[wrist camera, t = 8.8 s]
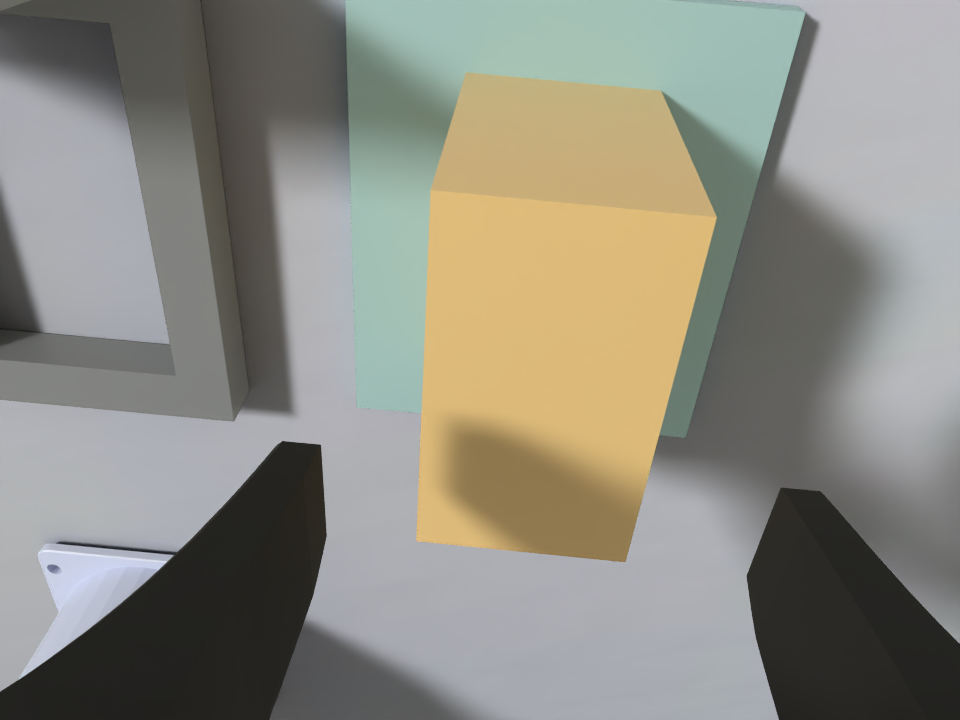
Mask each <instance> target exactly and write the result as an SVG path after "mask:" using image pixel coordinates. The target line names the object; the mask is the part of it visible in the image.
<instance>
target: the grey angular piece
mask: <svg viewBox="0 0 960 720" xmlns="http://www.w3.org/2000/svg"><path fill="white" fill-rule="evenodd" d="M0 14H7V15H19V16H30V17H42V18H53V19H65V20H77V21H88V22H100V23H110V28H111V34H112V39H113V44H114V50H115V55H116V60H117V65H118V71H119V76H120V81H121V87H122V92H123V97H124V103H125V108H126V113H127V118H128V124H129V129H130V134H131V140H132V145H133V150H134V155H135V161H136V166H137V171H138V177H139V182H140V187H141V193H142V198H143V203H144V208H145V214H146V219H147V224H148V230H149V235H150V240H151V245H152V251H153V256H154V261H155V267H156V272H157V277H158V283H159V288H160V293H161V298H162V304H163V309H164V314H165V320H166V325H167V330H168V335H169V341H170V345H166V344H155V343H144V342H133V341H122V340H112V339H101V338H90V337H79V336H68V335H57V334H47V333H36V332H25V331H14V330H3V329H0V400H9V401H19V402H30V403H41V404H51V405H62V406H73V407H83V408H94V409H105V410H115V411H126V412H137V413H148V414H158V415H169V416H180V417H190V418H201V419H212V420H222V421H233V422H234V420H235V418H236V417H237V415H238V413H239V411H240V409H241V407H242V405H243V403H244V401H245V399H246V397H247V395H248V393H249V385H248V377H247V369H246V361H245V353H244V345H243V337H242V329H241V321H240V313H239V305H238V297H237V289H236V281H235V273H234V265H233V257H232V249H231V241H230V233H229V225H228V217H227V209H226V201H225V193H224V185H223V177H222V169H221V161H220V153H219V145H218V137H217V129H216V121H215V113H214V105H213V97H212V89H211V81H210V73H209V65H208V57H207V49H206V41H205V33H204V25H203V17H202V9H201V1H200V0H0Z"/></svg>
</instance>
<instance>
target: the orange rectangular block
mask: <svg viewBox="0 0 960 720" xmlns="http://www.w3.org/2000/svg"><path fill="white" fill-rule="evenodd" d="M716 219H717V216H716V214H715V212H714V210H713V207H712V205H711V203H710V200H709V198H708V196H707V194H706V191H705V189H704V187H703V185H702V182H701V180H700V178H699V175H698V173H697V171H696V169H695V166H694V164H693V162H692V160H691V157H690V155H689V153H688V150H687V148H686V146H685V144H684V141H683V139H682V137H681V135H680V132H679V130H678V128H677V126H676V123H675V121H674V119H673V116H672V114H671V112H670V110H669V107H668V105H667V103H666V101H665V98H664V96H663V94H662V91H661V90H650V89H639V88H629V87H618V86H607V85H597V84H586V83H575V82H565V81H554V80H543V79H533V78H522V77H511V76H501V75H490V74H479V73H469V72H466V74H465V77H464V80H463V84H462V87H461V90H460V94H459V97H458V100H457V104H456V107H455V110H454V114H453V117H452V120H451V124H450V127H449V130H448V134H447V137H446V140H445V144H444V147H443V150H442V154H441V157H440V160H439V164H438V167H437V170H436V174H435V177H434V180H433V184H432V187H431V192H430V217H429V242H428V267H427V292H426V316H425V341H424V366H423V391H422V415H421V440H420V465H419V490H418V514H417V539H416V541H420V542H430V543H440V544H450V545H460V546H470V547H480V548H490V549H500V550H510V551H520V552H530V553H540V554H550V555H560V556H570V557H580V558H589V559H599V560H609V561H619V562H626V558H627V554H628V551H629V547H630V543H631V539H632V536H633V532H634V528H635V524H636V520H637V517H638V513H639V509H640V505H641V502H642V498H643V494H644V490H645V487H646V483H647V479H648V475H649V471H650V468H651V464H652V460H653V456H654V453H655V449H656V445H657V441H658V438H659V434H660V430H661V426H662V423H663V419H664V415H665V411H666V407H667V404H668V400H669V396H670V392H671V389H672V385H673V381H674V377H675V374H676V370H677V366H678V362H679V358H680V355H681V351H682V347H683V343H684V340H685V336H686V332H687V328H688V325H689V321H690V317H691V313H692V309H693V306H694V302H695V298H696V294H697V291H698V287H699V283H700V279H701V276H702V272H703V268H704V264H705V261H706V257H707V253H708V249H709V245H710V242H711V238H712V234H713V230H714V227H715V223H716Z"/></svg>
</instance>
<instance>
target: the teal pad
mask: <svg viewBox="0 0 960 720" xmlns="http://www.w3.org/2000/svg"><path fill="white" fill-rule="evenodd" d="M805 13H806V12H805V11H804V10H802V9H801V8H800V7H798V6H787V5H775V4H763V3H751V2H739V1H728V0H345V14H346V49H347V85H348V120H349V155H350V190H351V225H352V260H353V295H354V331H355V366H356V401H357V407H359V408H370V409H381V410H392V411H402V412H413V413H422V391H423V366H424V341H425V316H426V292H427V267H428V242H429V217H430V192H431V187H432V184H433V180H434V177H435V174H436V170H437V167H438V164H439V160H440V157H441V154H442V150H443V147H444V144H445V140H446V137H447V134H448V130H449V127H450V124H451V120H452V117H453V114H454V110H455V107H456V104H457V100H458V97H459V94H460V90H461V87H462V84H463V80H464V77H465V74H466V72H469V73H479V74H490V75H501V76H511V77H522V78H533V79H543V80H554V81H565V82H575V83H586V84H597V85H607V86H618V87H629V88H639V89H650V90H661V91H662V94H663V96H664V98H665V101H666V103H667V105H668V107H669V110H670V112H671V114H672V116H673V119H674V121H675V123H676V126H677V128H678V130H679V132H680V135H681V137H682V139H683V141H684V144H685V146H686V148H687V150H688V153H689V155H690V157H691V160H692V162H693V164H694V166H695V169H696V171H697V173H698V175H699V178H700V180H701V182H702V185H703V187H704V189H705V191H706V194H707V196H708V198H709V200H710V203H711V205H712V207H713V210H714V212H715V214H716V216H717V219H716V223H715V227H714V230H713V234H712V238H711V242H710V245H709V249H708V253H707V257H706V261H705V264H704V268H703V272H702V276H701V279H700V283H699V287H698V291H697V294H696V298H695V302H694V306H693V309H692V313H691V317H690V321H689V325H688V328H687V332H686V336H685V340H684V343H683V347H682V351H681V355H680V358H679V362H678V366H677V370H676V374H675V377H674V381H673V385H672V389H671V392H670V396H669V400H668V404H667V407H666V411H665V415H664V419H663V423H662V426H661V430H660V434H659V435H660V436H671V437H682V438H686V435H687V432H688V428H689V425H690V421H691V417H692V414H693V410H694V407H695V403H696V400H697V396H698V393H699V389H700V386H701V382H702V378H703V375H704V371H705V368H706V364H707V361H708V357H709V354H710V350H711V347H712V343H713V339H714V336H715V332H716V329H717V325H718V322H719V318H720V315H721V311H722V307H723V304H724V300H725V297H726V293H727V290H728V286H729V283H730V279H731V276H732V272H733V268H734V265H735V261H736V258H737V254H738V251H739V247H740V244H741V240H742V236H743V233H744V229H745V226H746V222H747V219H748V215H749V212H750V208H751V205H752V201H753V197H754V194H755V190H756V187H757V183H758V180H759V176H760V173H761V169H762V166H763V162H764V158H765V155H766V151H767V148H768V144H769V141H770V137H771V134H772V130H773V126H774V123H775V119H776V116H777V112H778V109H779V105H780V102H781V98H782V95H783V91H784V87H785V84H786V80H787V77H788V73H789V70H790V66H791V63H792V59H793V55H794V52H795V48H796V45H797V41H798V38H799V34H800V31H801V27H802V24H803V20H804V16H805Z"/></svg>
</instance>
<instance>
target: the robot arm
mask: <svg viewBox="0 0 960 720" xmlns="http://www.w3.org/2000/svg"><path fill="white" fill-rule="evenodd" d="M326 536H327V535H326V519H325V503H324V487H323V471H322V456H321V445H317V444H307V443H296V442H285V441H282V442H281V443H279V444H278V445H277V446H276V447H275V448H274V449H273V450H272V451H271V453H270V454H269V455H268V456H267V457H266V458H265V460H264V461H263V462H262V463H261V464H260V465H259V467H258V468H257V469H256V470H255V471H254V472H253V474H252V475H251V476H250V477H249V478H248V479H247V480H246V482H245V483H244V484H243V485H242V486H241V487H240V488H239V489H238V490H237V491H236V493H235V494H234V495H233V496H232V497H231V498H230V499H229V500H228V501H227V502H226V504H225V505H224V506H223V507H222V508H221V509H220V510H219V511H218V512H217V513H216V514H215V515H214V516H213V517H212V518H211V519H210V520H209V521H208V522H207V523H206V524H205V525H204V526H203V527H202V528H201V530H200V531H199V532H198V533H197V534H196V535H195V536H194V537H193V538H192V539H191V540H190V541H189V542H188V543H187V544H186V545H184V546H183V547H182V548H181V549H180V550H179V551H178V552H177V553H176V554H175V555H168V554H157V553H147V552H137V551H126V550H116V549H106V548H95V547H85V546H74V545H64V544H54V543H53V544H46V545H44V546H43V548H42V549H41V551H40V552H39V554H38V559H39V561H40V564H41V567H42V569H43V572H44V575H45V577H46V580H47V583H48V585H49V588H50V591H51V593H52V596H53V599H54V601H55V604H56V607H57V610H58V612H59V614H58V615H57V617H56V618H55V620H54V622H53V623H52V625H51V627H50V628H49V630H48V632H47V633H46V635H45V637H44V638H43V640H42V641H41V643H40V645H39V646H38V648H37V650H36V651H35V653H34V655H33V656H32V658H31V660H30V661H29V663H28V664H27V666H26V668H25V669H24V671H23V673H22V674H21V676H20V678H19V679H18V681H16V682H15V683H13V684H11V685H10V686H8V687H7V688H5V689H4V690H2V691H0V720H269V719H270V716H271V713H272V712H273V709H274V706H275V702H276V699H277V696H278V694H279V691H280V688H281V685H282V682H283V680H284V677H285V674H286V671H287V668H288V666H289V663H290V660H291V657H292V654H293V652H294V649H295V646H296V643H297V640H298V637H299V635H300V632H301V629H302V626H303V623H304V620H305V617H306V615H307V612H308V609H309V606H310V603H311V600H312V597H313V594H314V589H315V585H316V581H317V577H318V572H319V568H320V564H321V559H322V555H323V550H324V545H325V541H326ZM747 582H748V589H749V596H750V604H751V611H752V617H753V623H754V629H755V635H756V640H757V643H758V647H759V651H760V655H761V658H762V662H763V665H764V669H765V672H766V676H767V679H768V683H769V686H770V690H771V693H772V697H773V700H774V704H775V707H776V711H777V714H778V718H779V720H960V644H959V643H958V642H957V641H956V640H955V639H954V638H953V637H952V636H951V635H950V634H949V633H948V632H947V631H946V630H945V629H944V628H943V627H942V626H941V625H940V624H939V623H938V622H937V621H936V620H935V618H934V617H933V616H932V615H931V614H930V613H929V612H928V611H927V610H926V609H925V608H924V607H923V606H922V605H921V604H920V603H919V602H918V601H917V599H916V598H915V597H914V596H913V595H912V594H911V593H910V592H909V591H908V590H907V589H906V588H905V586H904V585H903V584H902V583H901V582H900V581H899V580H898V579H897V578H896V577H895V575H894V574H893V573H892V572H891V571H890V570H889V569H888V568H887V566H886V565H885V564H884V563H883V562H882V561H881V560H880V559H879V557H878V556H877V555H876V554H875V553H874V552H873V551H872V549H871V548H870V547H869V546H868V545H867V544H866V543H865V541H864V540H863V539H862V538H861V537H860V536H859V535H858V533H857V532H856V531H855V530H854V529H853V528H852V526H851V525H850V524H849V523H848V522H847V521H846V520H845V518H844V517H843V516H842V515H841V514H840V513H839V512H838V510H837V509H836V508H835V507H834V506H833V505H832V504H831V502H830V501H829V500H828V499H827V498H826V497H825V496H824V495H823V494H822V493H821V492H820V491H811V490H800V489H789V488H781V489H780V491H779V494H778V497H777V499H776V502H775V504H774V507H773V509H772V512H771V515H770V517H769V520H768V522H767V525H766V527H765V530H764V533H763V535H762V538H761V540H760V543H759V545H758V548H757V551H756V553H755V556H754V558H753V561H752V563H751V566H750V569H749V571H748V574H747Z"/></svg>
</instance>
